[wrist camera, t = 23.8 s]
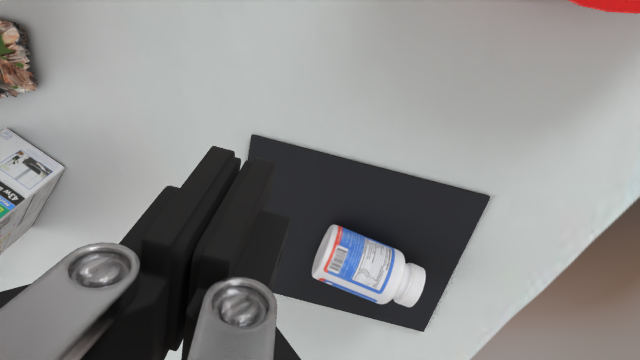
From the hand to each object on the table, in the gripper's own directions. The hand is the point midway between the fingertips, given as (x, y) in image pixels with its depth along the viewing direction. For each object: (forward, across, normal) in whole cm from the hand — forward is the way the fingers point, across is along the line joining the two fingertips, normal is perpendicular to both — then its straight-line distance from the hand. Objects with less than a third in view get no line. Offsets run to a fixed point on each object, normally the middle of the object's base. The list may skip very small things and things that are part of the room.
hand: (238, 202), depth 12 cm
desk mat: (+27, -6, +21) cm, 35 cm away
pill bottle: (+24, -4, +20) cm, 32 cm away
